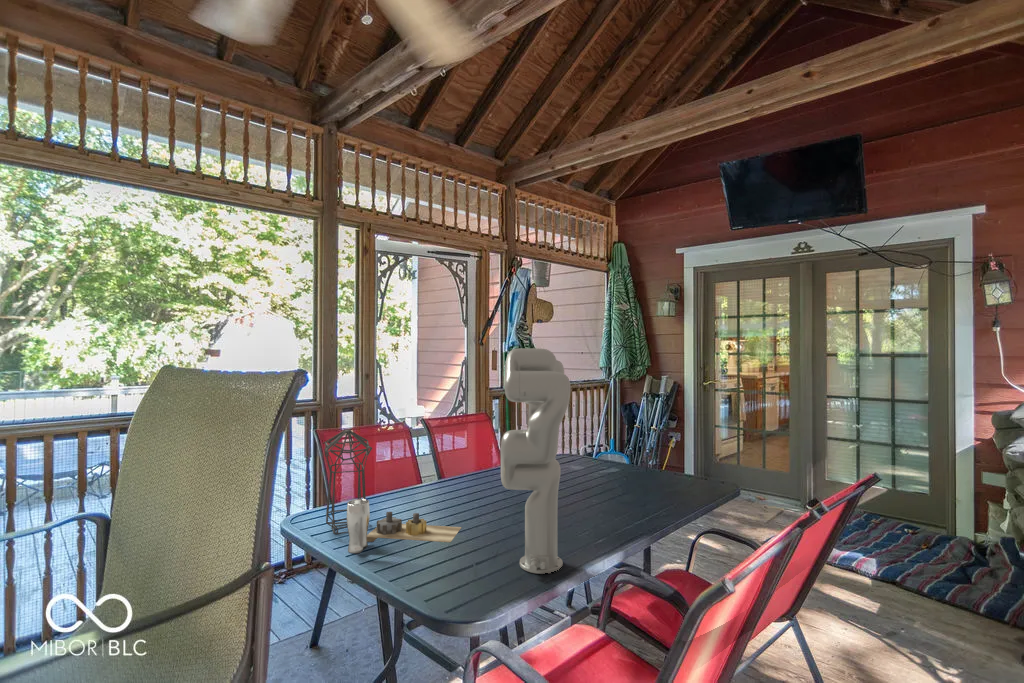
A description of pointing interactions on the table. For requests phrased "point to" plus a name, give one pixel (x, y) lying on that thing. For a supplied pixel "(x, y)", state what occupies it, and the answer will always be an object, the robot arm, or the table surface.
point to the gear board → (397, 530)
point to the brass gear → (416, 527)
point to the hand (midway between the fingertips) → (535, 448)
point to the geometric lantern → (337, 438)
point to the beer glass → (358, 524)
